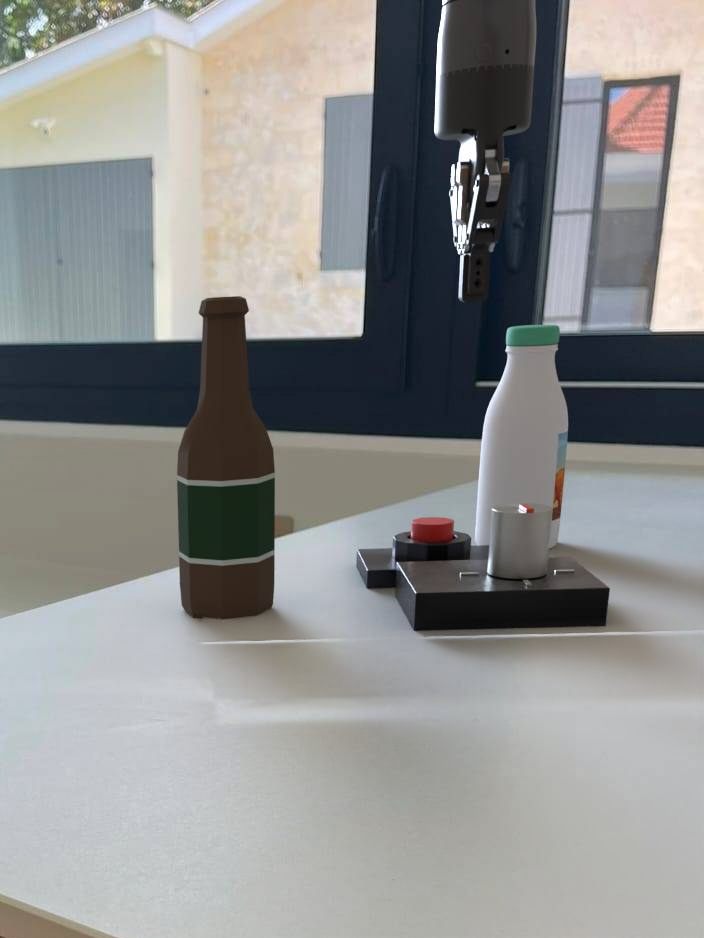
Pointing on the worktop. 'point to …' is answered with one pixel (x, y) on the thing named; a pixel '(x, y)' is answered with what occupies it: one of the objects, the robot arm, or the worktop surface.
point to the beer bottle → (225, 480)
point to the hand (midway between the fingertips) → (472, 301)
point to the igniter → (413, 556)
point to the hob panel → (498, 596)
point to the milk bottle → (524, 431)
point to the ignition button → (432, 529)
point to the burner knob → (519, 540)
